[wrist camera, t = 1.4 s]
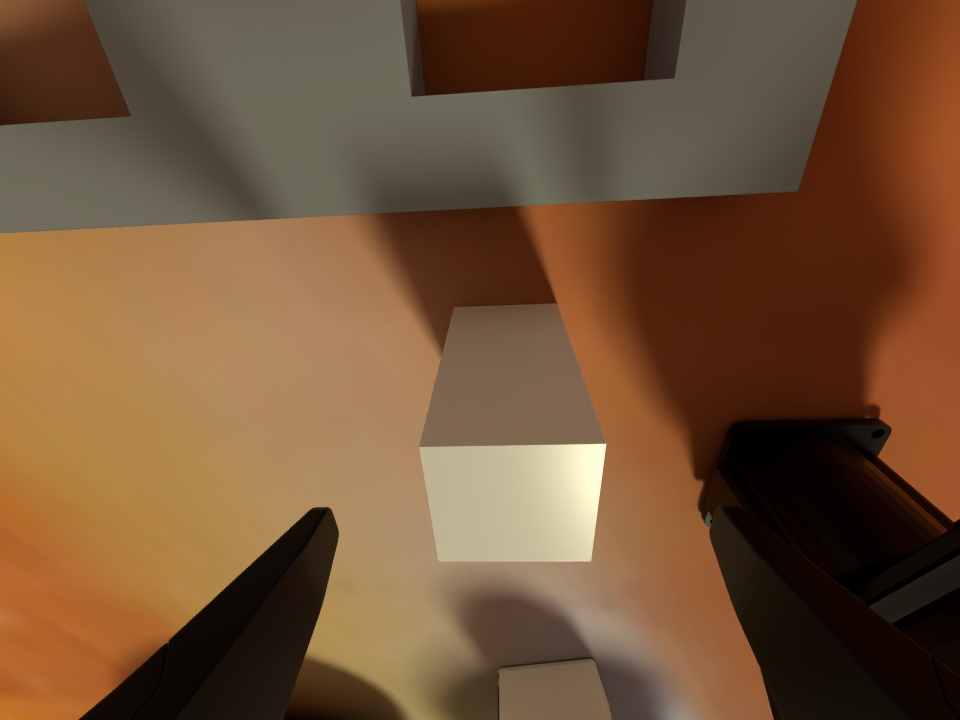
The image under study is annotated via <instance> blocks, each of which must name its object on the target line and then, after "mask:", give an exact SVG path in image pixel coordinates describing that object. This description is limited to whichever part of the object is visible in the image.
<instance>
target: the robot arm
mask: <svg viewBox="0 0 960 720" xmlns="http://www.w3.org/2000/svg"><path fill="white" fill-rule="evenodd" d="M891 431H892V430H891V427H890V426H888V425H887V424H886V423H884V422H883V421H882V420H880V419H838V420H788V421H742V422H737V423H735V424H733V425H732V426H731V427H730V428H729V430H728V433H727V436H726V439H725V442H724V445H723V448H722V452H721V455H720V458H719V461H718V464H717V466H716V467H715V469H714V473H713V476H712V479H711V482H710V485H709V488H708V492H707V495H706V498H705V501H704V504H705V505H704V508H703V511H702V515H701V517H702V519H703V521H704V523H705V525H706V526H708V527H710V531H709V534H710V540H711V543H712V546H713V549H714V552H715V555H716V558H717V561H718V564H719V567H720V570H721V573H722V576H723V578H724V581H725V584H726V587H727V590H728V593H729V596H730V599H731V602H732V605H733V607H734V610H735V612H736V615H737V617H738V620H739V622H740V624H741V626H742V629H743V631H744V633H745V635H746V637H747V640H748V642H749V644H750V646H751V649H752V651H753V653H754V655H755V657H756V660H757V662H758V664H759V666H760V669H761V673H762V676H763V680H764V684H765V688H766V692H767V695H768V699H769V703H770V707H771V710H772V714H773V718H774V720H960V519H959V520H957V521H956V522H953V521H952V520H951V519H949V518H948V517H947V516H946V515H945V514H944V513H942V512H941V511H940V510H939V509H938V508H937V507H935V506H934V505H933V504H932V503H931V502H930V501H928V500H927V499H926V498H925V497H924V496H922V495H921V494H920V493H919V492H918V491H917V490H915V489H914V488H913V487H912V486H911V485H910V484H908V483H907V482H906V481H905V480H904V479H903V478H901V477H900V476H899V475H898V474H897V473H896V472H894V471H893V470H892V469H891V468H890V467H889V466H887V465H886V464H885V463H884V462H883V461H881V460H880V459H879V458H878V457H877V456H878V455H879V453H880V451H881V449H882V448H883V446H884V444H885V442H886V441H887V439H888V437H889V436H890V434H891ZM743 432H744V433H743ZM741 433H743V434H741ZM338 538H339V530H338V527H337V524H336V521H335V518H334V515H333V512H332V510H331V509H330V508H328V507H315V508H312V509H311V510H309V511H308V512H307V513H306V514H305V515H304V516H303V517H302V518H301V519H300V520H298V521H297V522H296V523H295V524H294V525H293V526H292V527H291V528H290V529H289V530H288V531H287V532H285V533H284V534H283V535H282V536H281V537H280V538H279V539H278V540H277V541H276V542H275V543H274V544H272V545H271V546H270V547H269V548H268V549H267V550H266V551H265V552H264V553H263V554H262V555H261V556H259V557H258V558H257V559H256V560H255V561H254V562H253V563H252V564H251V565H250V566H249V567H248V568H246V569H245V570H244V571H243V572H242V573H241V574H240V575H239V576H238V577H237V578H236V579H235V580H233V581H232V582H231V583H230V584H229V585H228V586H227V587H226V588H225V589H224V590H223V591H222V592H220V593H219V594H218V595H217V596H216V597H215V598H214V599H213V600H212V601H211V602H210V603H209V604H207V605H206V606H205V607H204V608H203V609H202V610H201V611H200V612H199V613H198V614H197V615H196V616H194V617H193V618H192V619H191V620H190V621H189V622H188V623H187V624H186V625H185V626H184V627H183V628H181V629H180V630H179V631H178V632H177V633H176V634H175V635H174V636H173V637H172V638H171V639H170V640H169V642H168V643H166V644H164V645H163V646H162V647H161V648H160V649H159V650H157V651H156V652H155V653H154V654H153V655H152V656H151V657H150V658H149V659H148V660H147V661H146V662H144V663H143V664H142V665H141V666H140V667H139V668H138V669H137V670H135V671H134V672H133V673H132V674H131V675H130V676H129V677H128V678H127V679H125V680H124V681H123V682H122V683H121V684H120V685H119V686H118V687H116V688H115V689H114V690H113V691H112V692H111V693H109V694H108V695H107V696H106V697H105V698H103V699H102V700H101V701H100V702H99V703H98V704H96V705H95V706H94V707H93V708H92V709H90V710H89V711H88V712H87V713H86V714H85V715H83V716H82V717H81V718H80V719H79V720H283V717H284V714H285V712H286V709H287V706H288V703H289V700H290V697H291V694H292V691H293V689H294V686H295V683H296V680H297V677H298V674H299V671H300V668H301V666H302V663H303V660H304V657H305V654H306V651H307V648H308V645H309V643H310V640H311V637H312V634H313V631H314V628H315V625H316V622H317V620H318V617H319V614H320V611H321V607H322V604H323V600H324V597H325V593H326V589H327V584H328V580H329V576H330V572H331V568H332V563H333V559H334V555H335V551H336V547H337V543H338Z"/></svg>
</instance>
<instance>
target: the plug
mask: <svg viewBox="0 0 960 720" xmlns="http://www.w3.org/2000/svg"><path fill="white" fill-rule="evenodd" d="M419 449H420V455H421V460H422V466H423V472H424V478H425V484H426V490H427V496H428V501H429V507H430V513H431V519H432V525H433V531H434V537H435V543H436V548H437V554H438V560H439V561H591V556H592V549H593V541H594V533H595V526H596V518H597V510H598V503H599V495H600V487H601V480H602V472H603V464H604V456H605V449H606V442H605V439H604V436H603V433H602V431H601V428H600V425H599V422H598V419H597V416H596V413H595V411H594V408H593V405H592V402H591V399H590V396H589V393H588V390H587V388H586V385H585V382H584V379H583V376H582V373H581V370H580V367H579V365H578V362H577V359H576V356H575V353H574V350H573V347H572V344H571V342H570V339H569V336H568V333H567V330H566V327H565V324H564V322H563V319H562V316H561V313H560V310H559V307H558V304H557V303H552V304H526V305H499V306H472V307H454V309H453V313H452V317H451V321H450V325H449V329H448V333H447V337H446V341H445V345H444V349H443V353H442V357H441V361H440V365H439V369H438V373H437V377H436V381H435V385H434V389H433V393H432V397H431V401H430V406H429V410H428V414H427V418H426V422H425V426H424V430H423V434H422V438H421V442H420V446H419Z"/></svg>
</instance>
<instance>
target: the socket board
mask: <svg viewBox="0 0 960 720" xmlns="http://www.w3.org/2000/svg"><path fill="white" fill-rule="evenodd" d="M83 1H84V3H85V6H86V8H87V10H88V13H89V15H90V18H91V20H92V23H93V25H94V27H95V30H96V32H97V35H98V37H99V39H100V42H101V44H102V47H103V49H104V52H105V54H106V56H107V59H108V61H109V64H110V66H111V68H112V71H113V73H114V76H115V78H116V81H117V83H118V85H119V88H120V90H121V93H122V95H123V98H124V100H125V102H126V105H127V107H128V110H129V112H130V114H131V116H129V117H114V118H100V119H86V120H71V121H57V122H43V123H28V124H14V125H0V233H14V232H34V231H53V230H72V229H91V228H110V227H129V226H148V225H167V224H186V223H205V222H224V221H243V220H262V219H281V218H301V217H320V216H339V215H358V214H377V213H396V212H415V211H434V210H453V209H472V208H491V207H510V206H529V205H548V204H568V203H587V202H606V201H625V200H644V199H663V198H682V197H701V196H720V195H739V194H758V193H777V192H796V191H798V189H799V186H800V183H801V180H802V176H803V173H804V170H805V167H806V164H807V160H808V157H809V154H810V151H811V147H812V144H813V141H814V138H815V135H816V131H817V128H818V125H819V122H820V118H821V115H822V112H823V109H824V106H825V102H826V99H827V96H828V93H829V90H830V86H831V83H832V80H833V77H834V73H835V70H836V67H837V64H838V61H839V57H840V54H841V51H842V48H843V44H844V41H845V38H846V35H847V32H848V28H849V25H850V22H851V19H852V16H853V12H854V9H855V6H856V3H857V0H653V4H652V13H651V21H650V30H649V38H648V46H647V55H646V63H645V71H644V80H643V81H631V82H617V83H603V84H588V85H574V86H560V87H545V88H531V89H516V90H502V91H488V92H473V93H459V94H445V95H430V96H426V93H425V84H424V74H423V64H422V54H421V44H420V35H419V25H418V15H417V5H416V0H83Z"/></svg>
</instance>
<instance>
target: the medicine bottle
mask: <svg viewBox="0 0 960 720" xmlns="http://www.w3.org/2000/svg"><path fill="white" fill-rule="evenodd" d="M498 720H612V717H611V712H610V707H609V703H608V700H607V697H606V694H605V691H604V688H603V685H602V682H601V679H600V676H599V673H598V670H597V667H596V664H595V662H594V660H592V659H580V660H571V661H562V662H552V663H543V664H533V665H524V666H515V667H505V668H501V669H500V670H499V671H498Z"/></svg>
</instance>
